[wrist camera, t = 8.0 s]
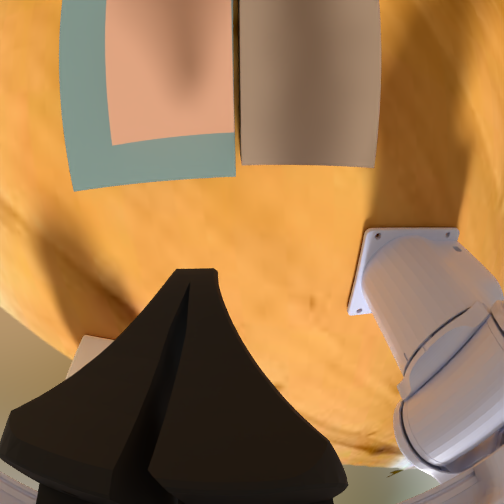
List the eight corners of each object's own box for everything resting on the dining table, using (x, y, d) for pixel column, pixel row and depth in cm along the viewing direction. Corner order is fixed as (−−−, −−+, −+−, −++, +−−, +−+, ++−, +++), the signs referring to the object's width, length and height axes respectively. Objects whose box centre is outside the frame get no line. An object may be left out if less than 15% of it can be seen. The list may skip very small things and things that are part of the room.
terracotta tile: (230, -24, 9) (230, -37, 8) (234, 128, 14) (234, 132, 12) (119, -7, 9) (107, -16, 7) (124, 139, 14) (112, 145, 12)
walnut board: (354, -18, 10) (375, -33, 8) (353, 155, 16) (374, 168, 14) (238, -31, 10) (239, -53, 7) (240, 153, 16) (241, 165, 14)
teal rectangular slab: (232, -43, 9) (233, -53, 8) (235, 169, 17) (235, 176, 15) (75, -11, 9) (64, -16, 8) (84, 183, 16) (73, 191, 15)
